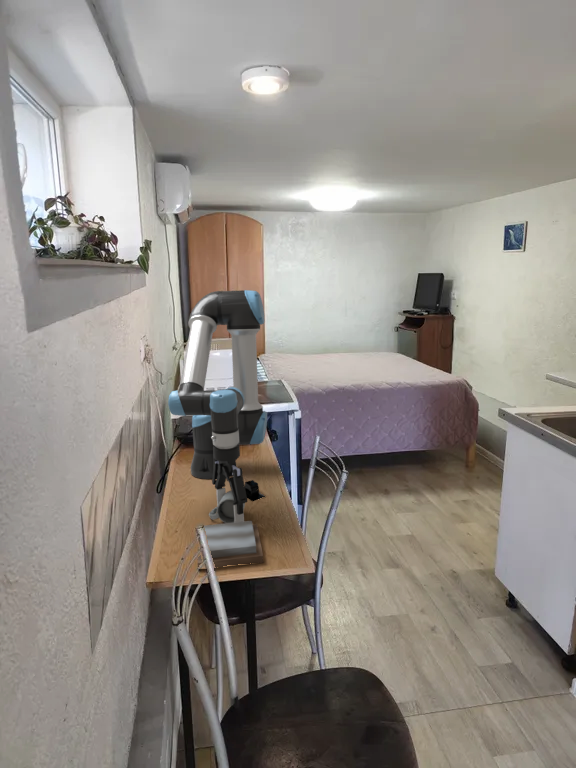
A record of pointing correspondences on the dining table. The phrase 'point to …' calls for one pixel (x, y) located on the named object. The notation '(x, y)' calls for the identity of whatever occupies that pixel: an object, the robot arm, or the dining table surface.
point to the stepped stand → (234, 543)
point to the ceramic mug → (225, 509)
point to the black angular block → (252, 491)
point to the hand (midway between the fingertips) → (230, 515)
